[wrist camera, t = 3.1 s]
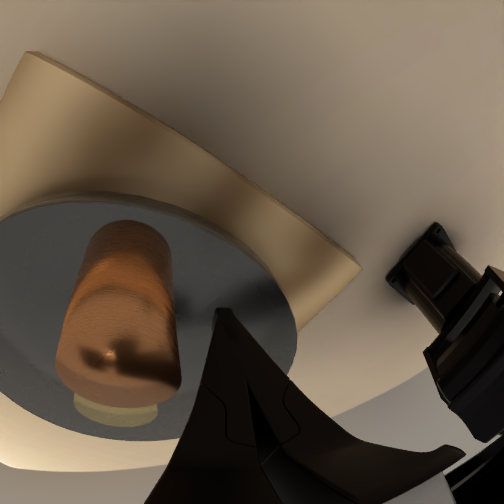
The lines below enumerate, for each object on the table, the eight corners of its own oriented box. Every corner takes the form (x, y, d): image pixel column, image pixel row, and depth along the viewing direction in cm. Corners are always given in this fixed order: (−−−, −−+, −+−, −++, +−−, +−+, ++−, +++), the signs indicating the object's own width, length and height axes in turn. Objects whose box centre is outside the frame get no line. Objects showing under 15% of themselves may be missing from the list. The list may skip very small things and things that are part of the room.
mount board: (354, 258, 20) (381, 292, 17) (183, 414, 28) (188, 445, 25) (36, 51, 8) (-3, 50, 5) (-32, 337, 16) (-44, 370, 13)
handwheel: (228, 431, 23) (244, 491, 18) (6, 404, 15) (-3, 468, 10) (354, 246, 14) (430, 338, 9) (-62, 161, 6) (-152, 240, 1)
